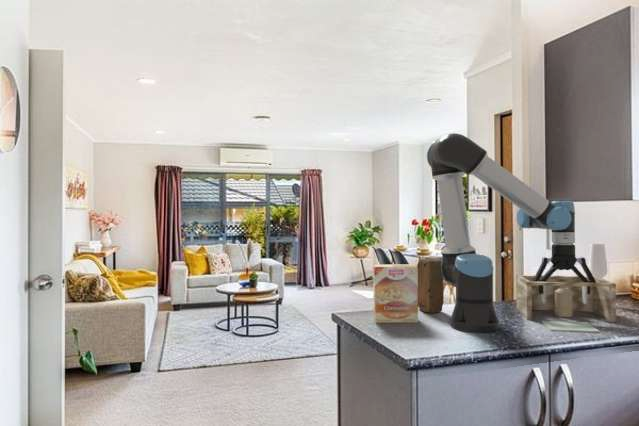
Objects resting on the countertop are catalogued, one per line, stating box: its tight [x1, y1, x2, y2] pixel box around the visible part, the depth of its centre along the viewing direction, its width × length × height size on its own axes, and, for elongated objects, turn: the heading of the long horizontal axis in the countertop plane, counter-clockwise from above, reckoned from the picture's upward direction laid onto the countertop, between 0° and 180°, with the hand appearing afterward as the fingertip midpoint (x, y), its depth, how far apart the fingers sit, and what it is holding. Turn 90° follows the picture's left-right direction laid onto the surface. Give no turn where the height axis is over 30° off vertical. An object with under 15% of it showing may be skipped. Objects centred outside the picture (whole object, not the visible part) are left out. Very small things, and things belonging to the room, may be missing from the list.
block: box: [416, 257, 445, 314], centre depth 180 cm, size 11×8×20 cm
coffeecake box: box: [372, 263, 419, 324], centre depth 166 cm, size 15×7×20 cm, turn 88°
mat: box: [541, 320, 600, 334], centre depth 154 cm, size 14×11×1 cm
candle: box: [554, 287, 573, 318], centre depth 170 cm, size 6×6×10 cm
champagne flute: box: [588, 243, 609, 279], centre depth 188 cm, size 7×7×24 cm
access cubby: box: [515, 274, 617, 323], centre depth 171 cm, size 28×18×13 cm, turn 78°
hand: (564, 303), depth 170 cm, fingers open, 13 cm apart
